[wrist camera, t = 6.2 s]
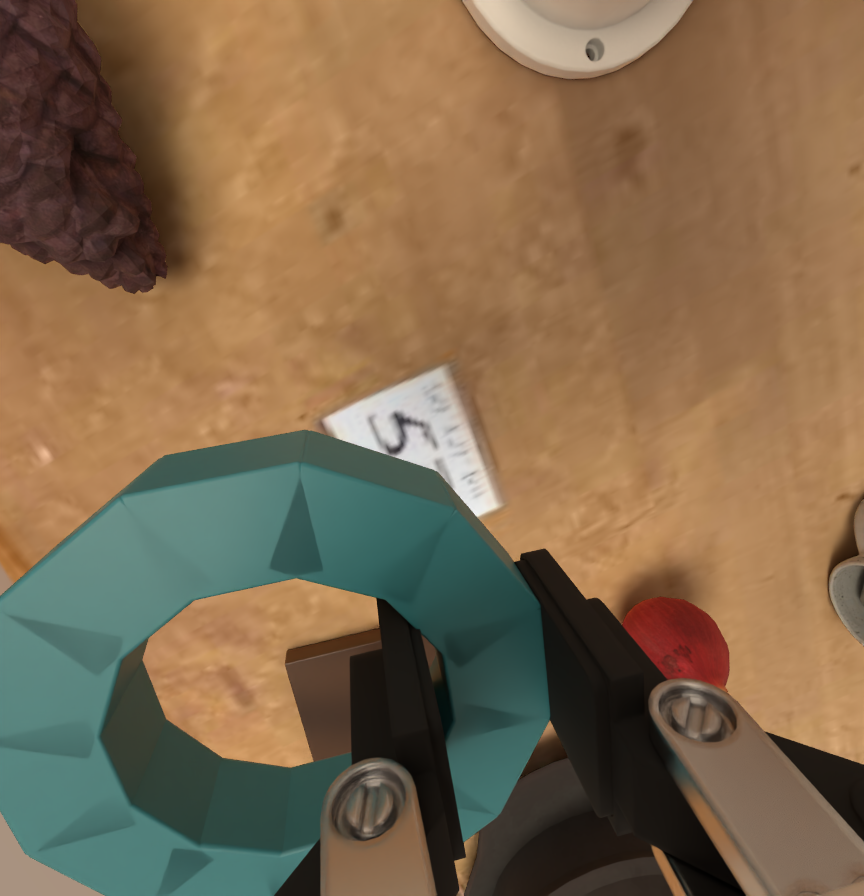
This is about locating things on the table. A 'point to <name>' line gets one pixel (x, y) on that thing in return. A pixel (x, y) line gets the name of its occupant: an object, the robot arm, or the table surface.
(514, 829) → the casserole
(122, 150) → the pine cone
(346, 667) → the stand
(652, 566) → the table surface
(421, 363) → the table surface
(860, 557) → the ceramic mug
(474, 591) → the ring
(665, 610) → the onion
